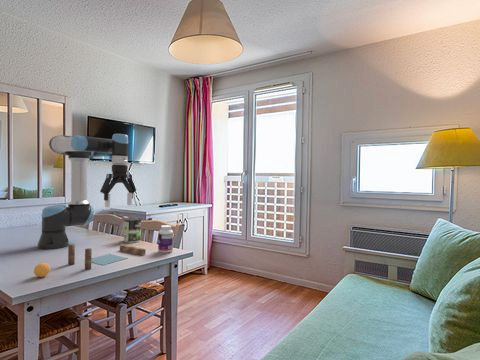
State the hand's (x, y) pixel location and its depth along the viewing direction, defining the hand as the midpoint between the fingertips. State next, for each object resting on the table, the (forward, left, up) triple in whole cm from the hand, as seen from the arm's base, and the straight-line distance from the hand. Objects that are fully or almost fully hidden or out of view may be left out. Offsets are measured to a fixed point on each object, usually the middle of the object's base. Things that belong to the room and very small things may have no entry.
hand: (118, 206), depth 150 cm
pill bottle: (+11, +23, -27) cm, 37 cm away
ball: (-2, -35, -24) cm, 42 cm away
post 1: (-8, -19, -26) cm, 34 cm away
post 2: (+4, -19, -26) cm, 33 cm away
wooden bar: (-2, +11, -26) cm, 29 cm away
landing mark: (-2, -5, -26) cm, 27 cm away
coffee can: (-24, +30, -27) cm, 47 cm away
